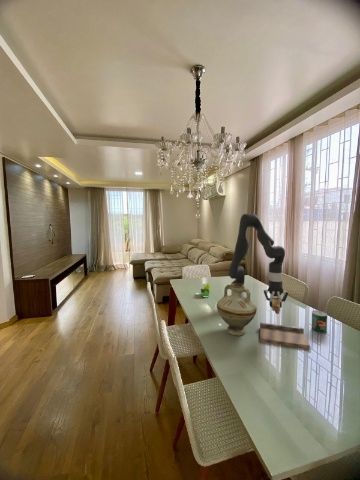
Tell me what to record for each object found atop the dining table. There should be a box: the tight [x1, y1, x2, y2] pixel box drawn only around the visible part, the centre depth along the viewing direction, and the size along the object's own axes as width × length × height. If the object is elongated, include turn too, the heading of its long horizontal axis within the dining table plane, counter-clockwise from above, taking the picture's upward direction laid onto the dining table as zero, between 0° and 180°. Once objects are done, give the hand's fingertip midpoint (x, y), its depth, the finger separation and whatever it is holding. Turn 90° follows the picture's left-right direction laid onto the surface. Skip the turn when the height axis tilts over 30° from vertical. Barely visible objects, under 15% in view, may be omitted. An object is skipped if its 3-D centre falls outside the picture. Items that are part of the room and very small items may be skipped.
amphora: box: [216, 283, 258, 337], centre depth 129 cm, size 24×24×30 cm
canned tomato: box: [311, 310, 328, 335], centre depth 128 cm, size 8×8×11 cm
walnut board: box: [259, 322, 311, 350], centre depth 122 cm, size 24×16×4 cm, turn 70°
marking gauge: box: [271, 296, 281, 315], centre depth 123 cm, size 4×12×7 cm, turn 162°
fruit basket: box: [200, 283, 211, 297], centre depth 193 cm, size 11×9×11 cm
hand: (275, 307), depth 126 cm, fingers closed on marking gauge, 4 cm apart
